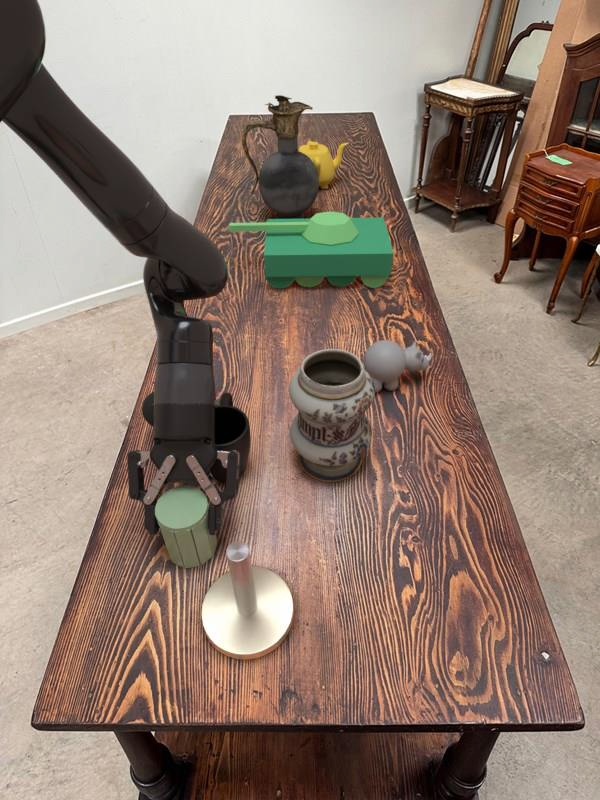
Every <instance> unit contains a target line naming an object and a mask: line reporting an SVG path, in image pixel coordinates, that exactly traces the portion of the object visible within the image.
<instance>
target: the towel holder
mask: <svg viewBox="0 0 600 800" xmlns="http://www.w3.org/2000/svg"><path fill="white" fill-rule="evenodd" d="M225 556H226V560H227V564H228V569H229V570H228V571H226V572H224V573H223V574H222V575H220V576H219V577H218V578H217V579H216V580H215V581H214V582H212V584H211V585H210V587H209V588H208V589H207V591H206V593H205V595H204V598H203V600H202V604H201V611H200V615H201V617H200V618H201V624H202V627H203V630H204V633H205V634H204V635H205V636H206V638H207V640H208V642H209V643H210V644H211V646H212V647H213V648H214V649H215V650H217V651H218V652H219V653H220V654H222V655H224V656H226V657H228V658H230V659H233V660H234V659H235V660H242V661H249V660H257V659H259V658H262V657H264V656H266V655H268V654H271V653H272V652H273V651H274V650H276V649H278V647H280V645H281V644H282V643H283V642H284V641H285V640H286V638H287V637H288V635H289V633H290V631H291V629H292V625H293V622H294V615H295V609H294V608H295V607H294V605H295V604H294V598H293V594H292V592H291V589H290V587H289V585H288V584H287V583H286V581H285V580H284V579H283V577H281V576H280V575H279V574H277V573H276V572H275V571H273V570H271V569H269V568H267V567H263V566H257V565H252V559H251V552H250V547H249V545H248V544H247V543H246V542H244V541H241V540H236V541H233V542H231V543H229V544H228V545H227V548H226V550H225Z"/></svg>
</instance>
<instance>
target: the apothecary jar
mask: <svg viewBox="0 0 600 800" xmlns="http://www.w3.org/2000/svg"><path fill="white" fill-rule="evenodd" d="M288 395H289V398H290V401H291V403H292V405H293V406H294V408H295V409H296V410H297V414H296V415H295V416H294V418H293V420H292V422H291V424H290V428H289V437H290V441H291V444H292V445H293V448H294V450H296V452H297V453H298V462H299V463H298V464H299V465H300V467H301V469H302V470H303V471H304V473H306V475H308V476H309V477H311V478H313V479H315V480H318V481H321V482H326V483H334V482H341V481H344V480H346V479H349V478H351V477H352V476H354V475H355V474H356V473H357V472H358V471H359V469H360V467H361V465H362V464H363V463H362V462H363V456H364V454H365V452H366V451H367V450H368V448H369V446H370V444H371V441H372V439H373V428H372V425H371V422H370V420H369V418H368V416H367V415H366V414H365V413H366V412H367V411H368V409H370V407H371V406H372V404H373V402H374V399H375V395H376V392H375V385H374V382H373V380H372V378H371V376H370V375H369V373H368V372H367V371H366V370H365V369H364V363H363V362H362V360H361V359H360V358H359V357H358V356H357V355H356V354H354V353H352V352H350V351H347V350H344V349H341V348H326V349H320V350H317V351H315V352H314V351H313V352H312V353H310V354H309V355H307V356H306V357H305V358H304V359H303V360H302V362H301V364H300V367H299V368H298V369H297V370H296V371H295V372H294V374H293V375H292V377H291V379H290V380H289V385H288Z"/></svg>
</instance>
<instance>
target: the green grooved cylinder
mask: <svg viewBox="0 0 600 800" xmlns="http://www.w3.org/2000/svg"><path fill="white" fill-rule="evenodd" d="M209 506H210V503H209V501H208V497H207V496H206V493H204V491H203V490H201V489H199V488H198V487H196V486H193V485H185V484H184V485H178V486H175V487H172V488H170V489H168V490H166V491H165V492H164V493H163V494H161V495H160V497H159V498H158V500H157V503H156V506H155V516H156V519H157V522H158V525H159V532H160V533H161V537H162V540H163V542H164V545H165V548H166V551H167V554H168V556H169V559H170V562H172V564H174V565H176V566H178V567H180V568H182V569H191V568H198V567H201V566H203V565H204V564H205V563H207V562H208V561H209V560H210V559H212V558H213V556H214V555H215V552H216V549H217V546H218V539H217V534H216V535H209Z"/></svg>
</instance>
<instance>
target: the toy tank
mask: <svg viewBox="0 0 600 800" xmlns="http://www.w3.org/2000/svg"><path fill="white" fill-rule="evenodd" d="M266 220H267V221H266V222H229V224H228V229H229V232H230V233H233V232H234V233H236V232H239V233H241V232H265V238H264V239H265V240H264V249H263V264H264V277H265V280H266V281H267V283H268V284H269V285H270V286H271V287H273V288H275V289H286V288H288V287H290V286H291V285H292V284H293V283H294V281H295V282H296V283H297V284H299V285H300V286H302V287H305V288H313V287H317V286H319V284H321V283H322V282H323V280H324V278H325V277H326V279H327V281H328V282H329V283H330V284H331V285H333V286H335V287H340V288H343V287H347V286H350V285H351V284H352V283H354V282H355V281H356V279H357V277H360V280H361V281H362V283H363V284H364V286H366V287H368V288H371V289H376V288H380V287H382V286H383V285H384V284H385V283H386V282H387V281H388V279H389V276H392V273H393V271H392V270H393V264H394V263H393V261H394V250H393V246H392V242H391V238H390V235H389V231H388V228H387V224H386V222H385V217H384V216H383V217H379V216H378V217H350V216H348V215H347V214H346V213H344V212H337V211H331V210H330V211H324V212H317V213H314V215H313V216H312V217H310V218H304V219H276V218H267V219H266Z"/></svg>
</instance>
